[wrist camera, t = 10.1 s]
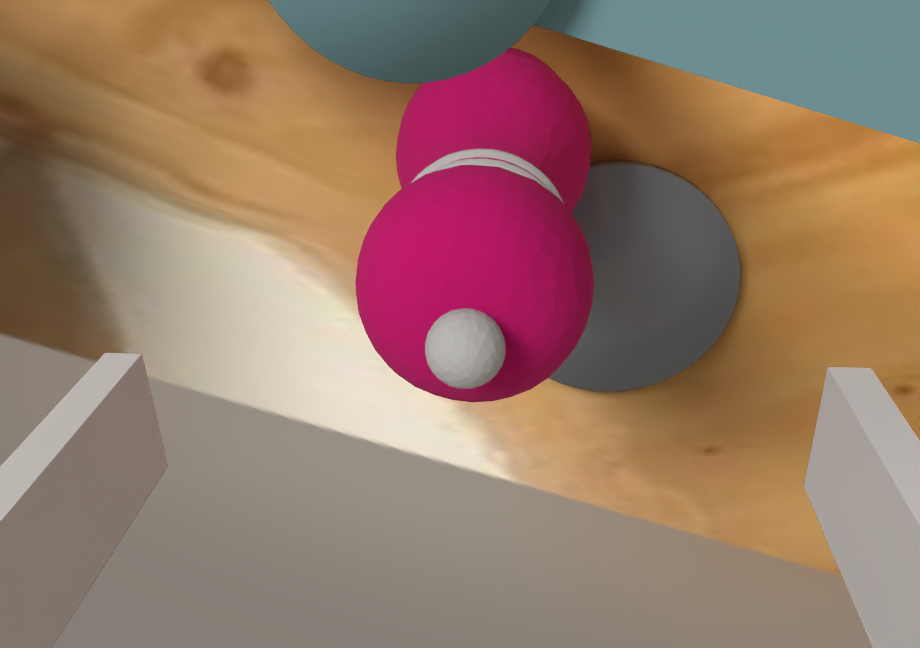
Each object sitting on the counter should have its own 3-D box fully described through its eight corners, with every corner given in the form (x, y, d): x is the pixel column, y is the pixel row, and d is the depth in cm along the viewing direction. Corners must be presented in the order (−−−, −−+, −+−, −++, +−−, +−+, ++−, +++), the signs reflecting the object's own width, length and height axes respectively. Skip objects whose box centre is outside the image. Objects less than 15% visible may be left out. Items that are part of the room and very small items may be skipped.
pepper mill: (607, 57, 34) (686, 255, 16) (557, 222, 37) (579, 533, 20) (430, 13, 34) (318, 167, 16) (397, 183, 37) (273, 464, 19)
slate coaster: (490, 380, 41) (489, 389, 41) (487, 161, 36) (487, 166, 36) (721, 384, 41) (724, 393, 40) (752, 159, 35) (756, 165, 35)
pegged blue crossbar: (292, -8, 13) (118, 76, 7) (339, -292, 11) (161, -443, 6) (1203, 269, 14) (1627, 520, 8) (1376, 45, 12) (2045, 181, 7)
